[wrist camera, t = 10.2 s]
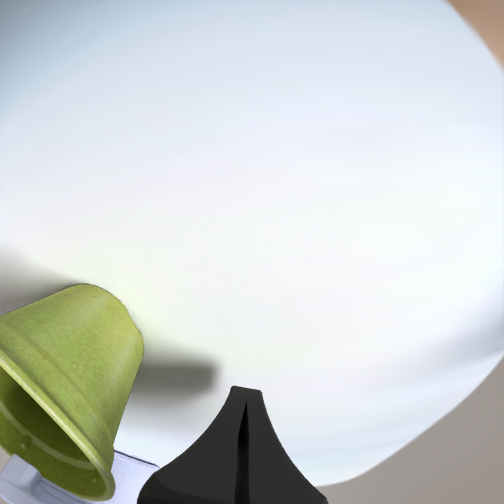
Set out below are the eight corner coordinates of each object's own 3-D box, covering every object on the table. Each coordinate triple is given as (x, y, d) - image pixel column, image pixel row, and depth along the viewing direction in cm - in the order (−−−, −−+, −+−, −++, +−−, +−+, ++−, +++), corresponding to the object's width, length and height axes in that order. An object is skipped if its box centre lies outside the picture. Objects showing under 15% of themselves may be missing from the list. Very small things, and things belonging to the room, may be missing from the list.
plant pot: (42, 230, 13) (-79, 281, 5) (191, 288, 13) (106, 428, 5) (45, 354, 16) (-25, 427, 7) (162, 411, 16) (118, 520, 8)
